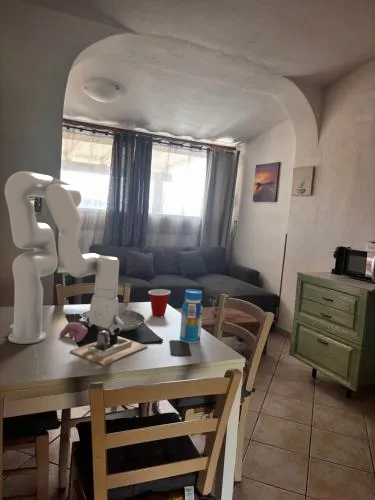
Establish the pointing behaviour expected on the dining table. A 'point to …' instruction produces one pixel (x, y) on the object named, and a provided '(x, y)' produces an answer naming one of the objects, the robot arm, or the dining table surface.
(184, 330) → the beverage bottle
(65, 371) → the dining table surface
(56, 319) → the dining table surface
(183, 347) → the phone
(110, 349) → the tray
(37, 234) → the robot arm
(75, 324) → the video game controller
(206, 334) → the dining table surface
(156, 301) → the plastic cup
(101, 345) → the cylinder
